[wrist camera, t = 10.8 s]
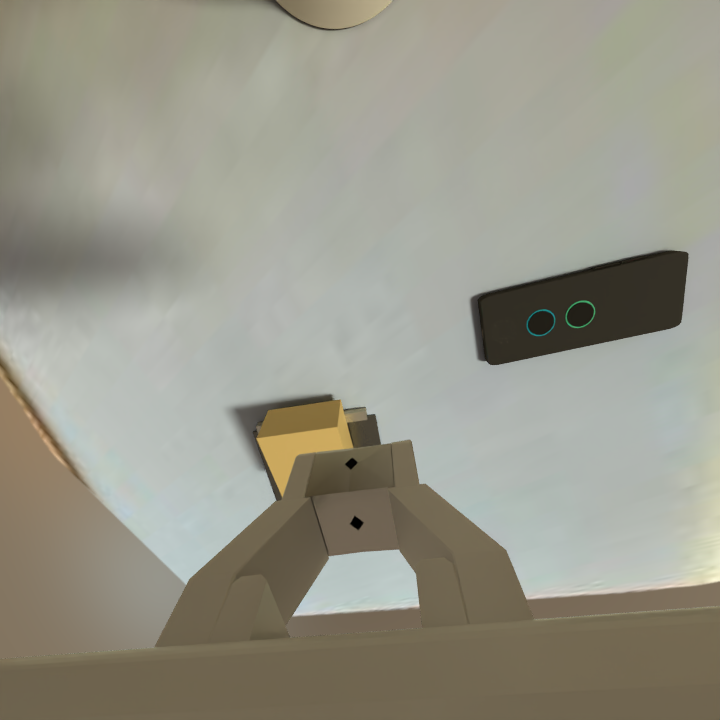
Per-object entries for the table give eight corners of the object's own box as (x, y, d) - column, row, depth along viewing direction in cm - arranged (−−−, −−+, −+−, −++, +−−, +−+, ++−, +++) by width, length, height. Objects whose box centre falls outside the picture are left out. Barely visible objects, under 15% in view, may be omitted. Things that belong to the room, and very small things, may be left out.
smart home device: (480, 297, 35) (690, 247, 32) (475, 294, 36) (675, 246, 34) (488, 368, 38) (681, 328, 35) (484, 362, 39) (668, 323, 37)
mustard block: (256, 438, 36) (283, 500, 41) (337, 426, 35) (355, 491, 40) (268, 410, 41) (291, 469, 45) (340, 399, 40) (356, 460, 44)
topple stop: (250, 423, 43) (248, 427, 42) (373, 406, 41) (373, 410, 41) (278, 500, 48) (276, 506, 47) (389, 488, 46) (389, 493, 45)
